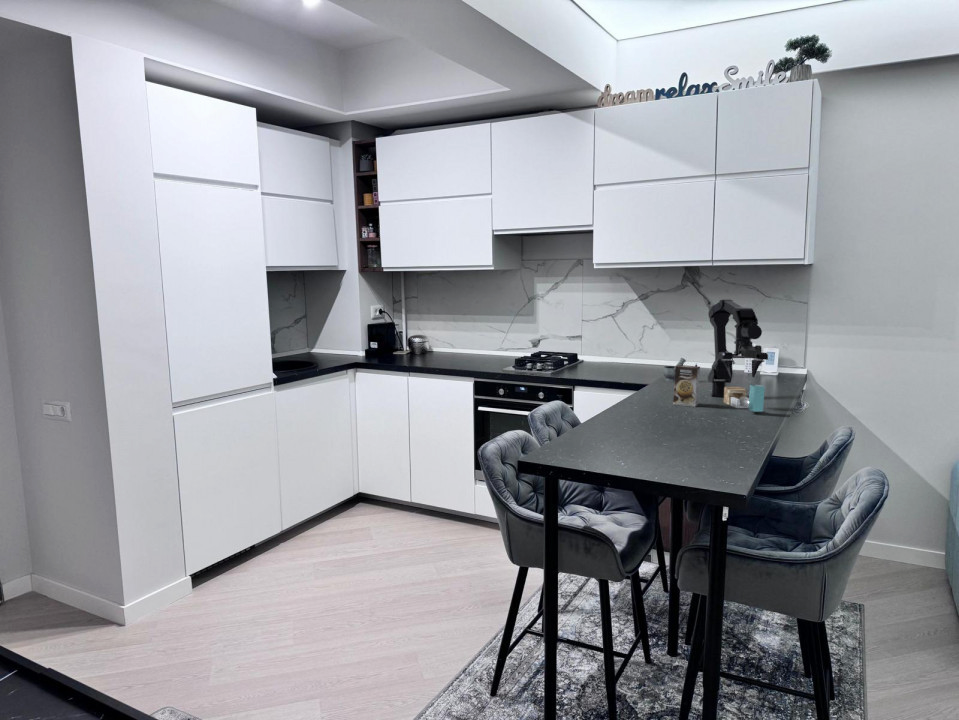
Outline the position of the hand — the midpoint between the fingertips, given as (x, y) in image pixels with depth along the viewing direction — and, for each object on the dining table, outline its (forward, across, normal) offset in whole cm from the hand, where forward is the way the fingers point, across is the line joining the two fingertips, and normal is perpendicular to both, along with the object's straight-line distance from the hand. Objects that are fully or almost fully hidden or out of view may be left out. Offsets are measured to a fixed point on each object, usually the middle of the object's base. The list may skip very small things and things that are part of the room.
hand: (742, 377), depth 272 cm
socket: (+12, 0, +7) cm, 13 cm away
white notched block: (+12, 0, 0) cm, 12 cm away
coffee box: (+12, -22, +5) cm, 25 cm away
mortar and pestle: (+7, -7, +63) cm, 64 cm away
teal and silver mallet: (+12, 0, -7) cm, 14 cm away
